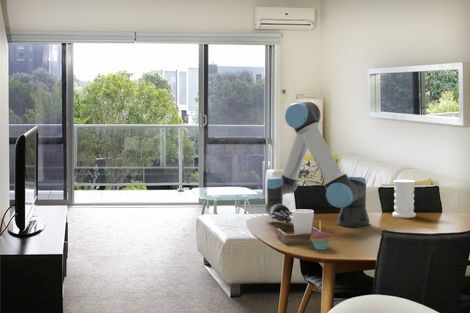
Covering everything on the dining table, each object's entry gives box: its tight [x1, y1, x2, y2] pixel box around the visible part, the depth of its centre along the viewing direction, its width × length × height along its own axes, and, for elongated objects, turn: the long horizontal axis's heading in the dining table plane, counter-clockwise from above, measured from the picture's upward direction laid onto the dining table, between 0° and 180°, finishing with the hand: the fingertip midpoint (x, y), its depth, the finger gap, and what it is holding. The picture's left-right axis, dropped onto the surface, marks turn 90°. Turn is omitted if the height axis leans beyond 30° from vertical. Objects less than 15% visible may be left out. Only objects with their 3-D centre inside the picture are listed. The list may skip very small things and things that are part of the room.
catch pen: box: [276, 226, 319, 245], centre depth 323 cm, size 16×17×4 cm
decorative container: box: [392, 179, 417, 219], centre depth 379 cm, size 12×12×18 cm
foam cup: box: [291, 208, 315, 234], centre depth 321 cm, size 10×9×13 cm
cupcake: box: [310, 220, 332, 251], centre depth 305 cm, size 9×8×12 cm
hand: (294, 221), depth 332 cm, fingers closed
